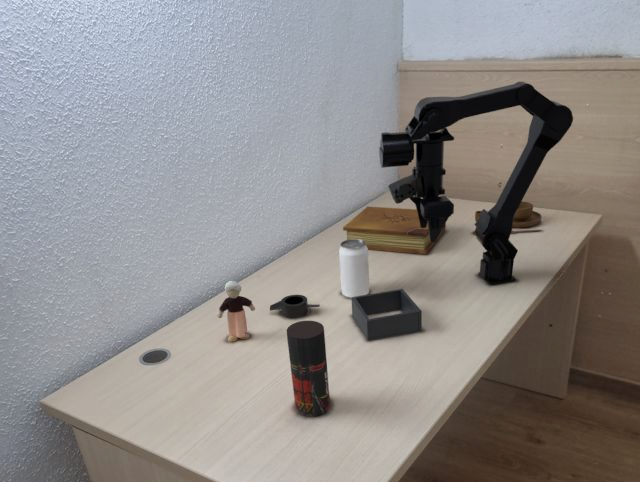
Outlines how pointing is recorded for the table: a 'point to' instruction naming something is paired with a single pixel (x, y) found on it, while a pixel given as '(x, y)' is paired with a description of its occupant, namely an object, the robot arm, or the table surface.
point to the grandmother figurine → (235, 311)
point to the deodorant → (309, 367)
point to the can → (354, 268)
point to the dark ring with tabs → (293, 306)
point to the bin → (386, 324)
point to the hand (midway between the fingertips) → (427, 234)
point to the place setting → (521, 216)
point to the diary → (390, 230)
